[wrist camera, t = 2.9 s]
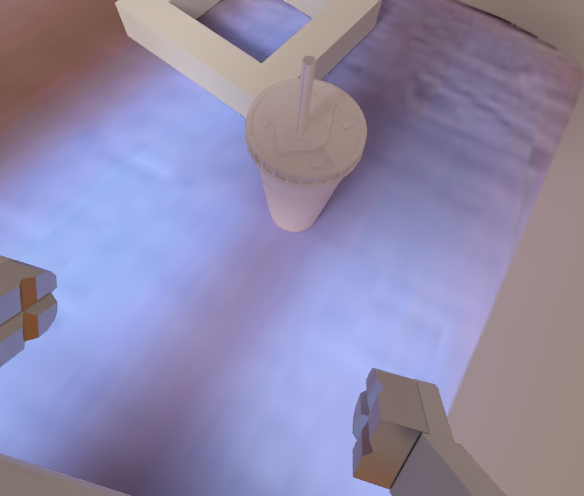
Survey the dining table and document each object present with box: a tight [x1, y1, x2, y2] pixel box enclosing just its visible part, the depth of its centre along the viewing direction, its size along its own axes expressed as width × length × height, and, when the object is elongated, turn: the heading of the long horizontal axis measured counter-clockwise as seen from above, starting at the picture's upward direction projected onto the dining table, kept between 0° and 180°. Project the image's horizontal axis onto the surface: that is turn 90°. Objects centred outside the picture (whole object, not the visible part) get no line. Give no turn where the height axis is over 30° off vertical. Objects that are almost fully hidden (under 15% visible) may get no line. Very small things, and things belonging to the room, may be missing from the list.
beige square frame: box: [115, 0, 382, 118], centre depth 33 cm, size 16×16×3 cm
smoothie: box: [245, 55, 367, 232], centre depth 22 cm, size 6×6×14 cm
